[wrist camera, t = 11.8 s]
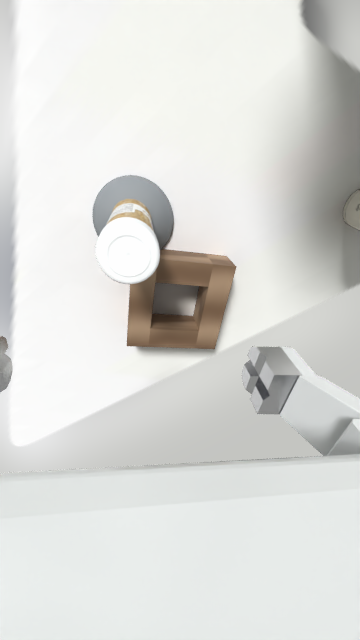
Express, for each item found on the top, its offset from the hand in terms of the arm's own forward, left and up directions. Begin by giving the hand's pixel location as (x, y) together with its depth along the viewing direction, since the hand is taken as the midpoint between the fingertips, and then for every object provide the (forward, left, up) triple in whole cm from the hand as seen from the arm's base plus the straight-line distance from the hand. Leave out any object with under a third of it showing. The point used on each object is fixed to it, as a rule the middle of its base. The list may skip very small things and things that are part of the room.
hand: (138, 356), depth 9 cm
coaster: (0, 0, -25) cm, 25 cm away
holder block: (+9, +6, -25) cm, 27 cm away
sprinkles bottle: (0, -1, -25) cm, 25 cm away
